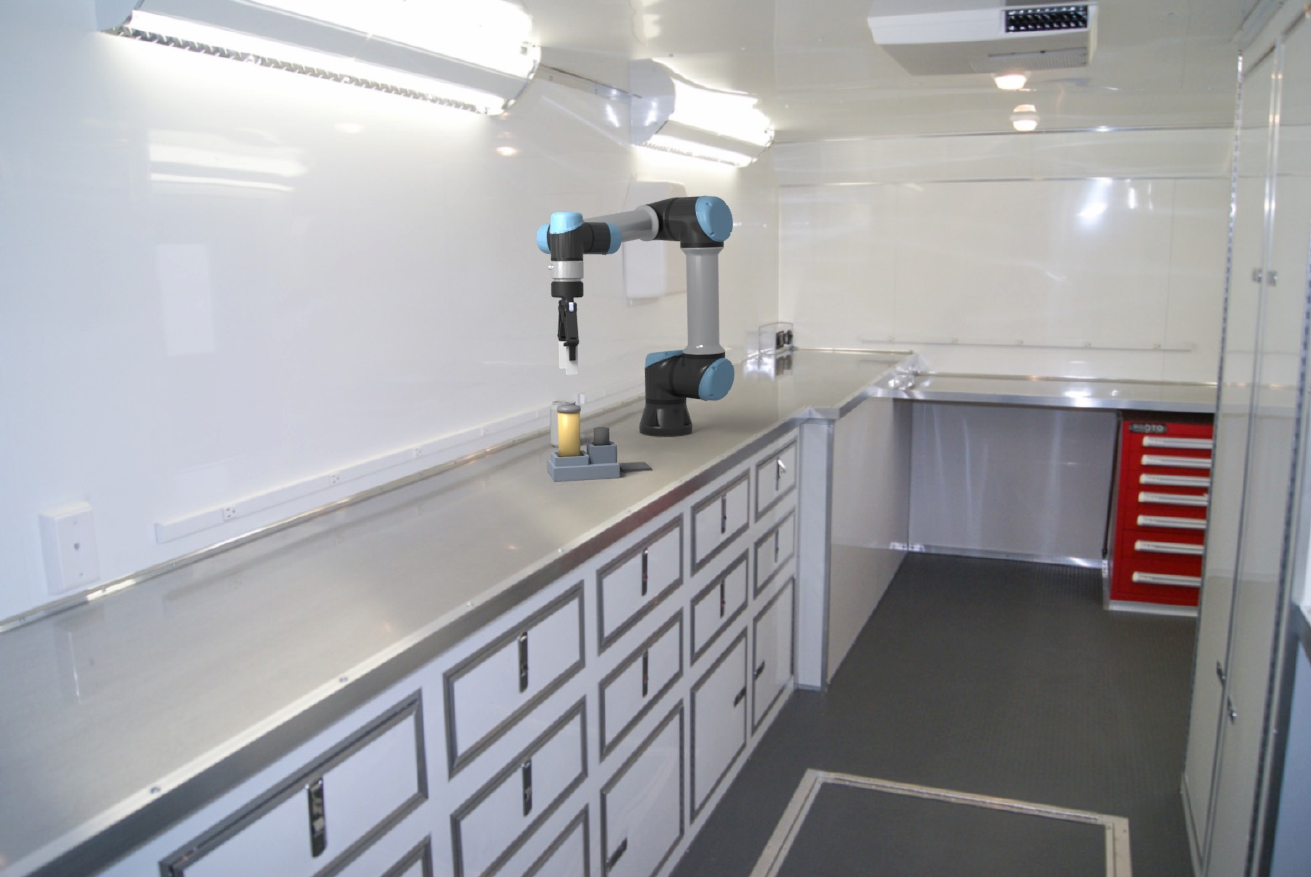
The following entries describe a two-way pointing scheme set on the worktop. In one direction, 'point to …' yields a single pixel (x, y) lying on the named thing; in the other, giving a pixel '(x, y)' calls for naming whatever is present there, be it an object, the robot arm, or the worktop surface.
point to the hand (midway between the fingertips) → (568, 371)
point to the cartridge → (569, 430)
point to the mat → (634, 466)
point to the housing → (585, 464)
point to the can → (556, 419)
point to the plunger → (601, 436)
